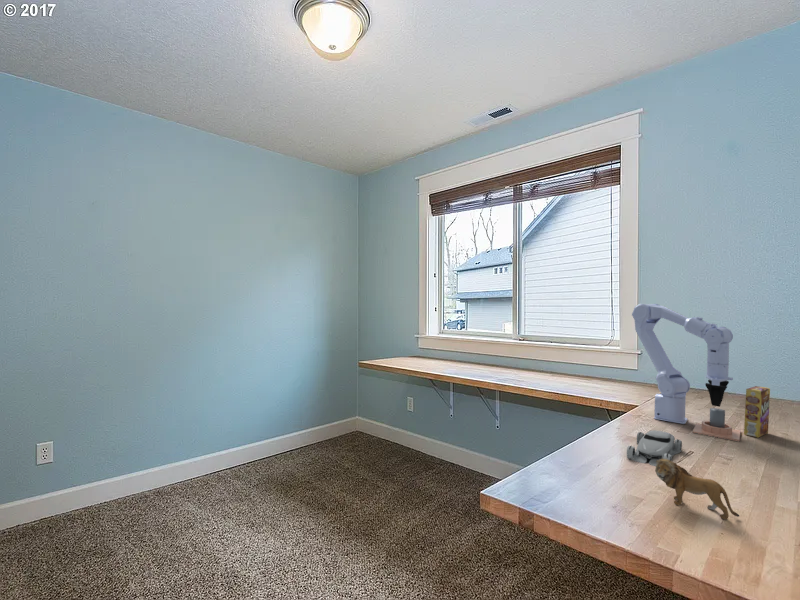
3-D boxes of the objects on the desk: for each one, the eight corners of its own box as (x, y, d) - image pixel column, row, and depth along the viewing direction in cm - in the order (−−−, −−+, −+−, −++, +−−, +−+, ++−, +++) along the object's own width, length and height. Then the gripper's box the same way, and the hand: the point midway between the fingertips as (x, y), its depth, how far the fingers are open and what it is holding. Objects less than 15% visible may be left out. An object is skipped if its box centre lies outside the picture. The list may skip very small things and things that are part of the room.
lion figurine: (653, 501, 91) (654, 460, 91) (656, 492, 95) (656, 453, 95) (739, 524, 82) (740, 479, 82) (738, 513, 86) (739, 470, 86)
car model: (623, 460, 115) (624, 442, 115) (642, 438, 133) (642, 422, 133) (671, 471, 107) (671, 452, 107) (684, 446, 126) (684, 430, 126)
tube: (708, 430, 138) (709, 409, 138) (710, 428, 141) (710, 407, 141) (724, 433, 135) (724, 412, 135) (725, 430, 138) (725, 409, 138)
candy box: (760, 438, 132) (761, 391, 132) (743, 434, 136) (744, 388, 136) (769, 433, 137) (770, 387, 137) (753, 430, 141) (754, 385, 141)
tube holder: (692, 432, 137) (692, 425, 137) (696, 424, 146) (696, 417, 146) (739, 441, 129) (739, 433, 129) (740, 432, 139) (740, 424, 139)
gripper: (731, 367, 131) (731, 410, 131) (734, 362, 141) (733, 401, 142) (704, 364, 135) (703, 406, 135) (708, 359, 146) (707, 398, 146)
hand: (716, 403), depth 139 cm, fingers open, 7 cm apart
